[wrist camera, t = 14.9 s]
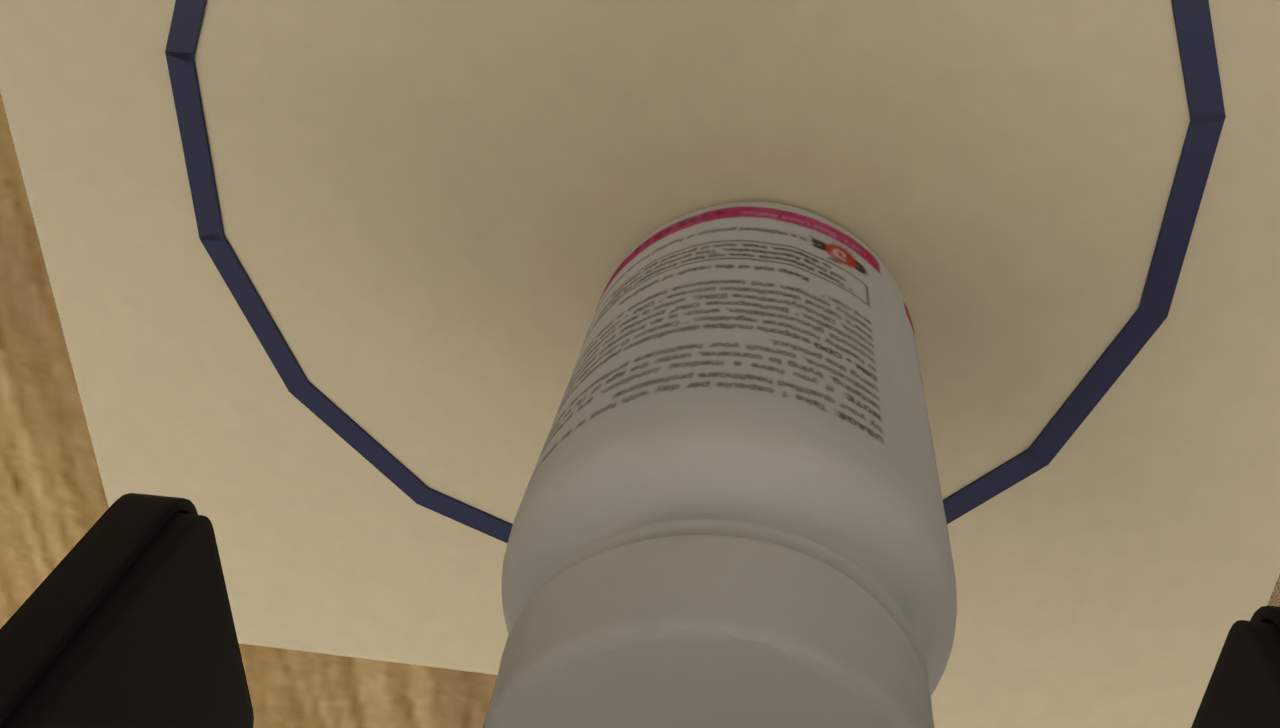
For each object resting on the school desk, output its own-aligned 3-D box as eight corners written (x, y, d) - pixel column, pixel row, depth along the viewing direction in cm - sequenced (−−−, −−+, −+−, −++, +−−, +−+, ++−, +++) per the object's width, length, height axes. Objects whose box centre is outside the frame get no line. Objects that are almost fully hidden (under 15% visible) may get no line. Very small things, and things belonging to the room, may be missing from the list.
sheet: (-206, -762, 12) (-232, -775, 12) (1811, -811, 10) (1843, -830, 10) (148, 622, 22) (138, 634, 21) (1201, 749, 20) (1206, 765, 19)
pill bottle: (533, 308, 17) (317, 731, 9) (789, 126, 15) (763, 480, 8) (720, 519, 18) (658, 1028, 11) (975, 378, 16) (1103, 879, 9)
